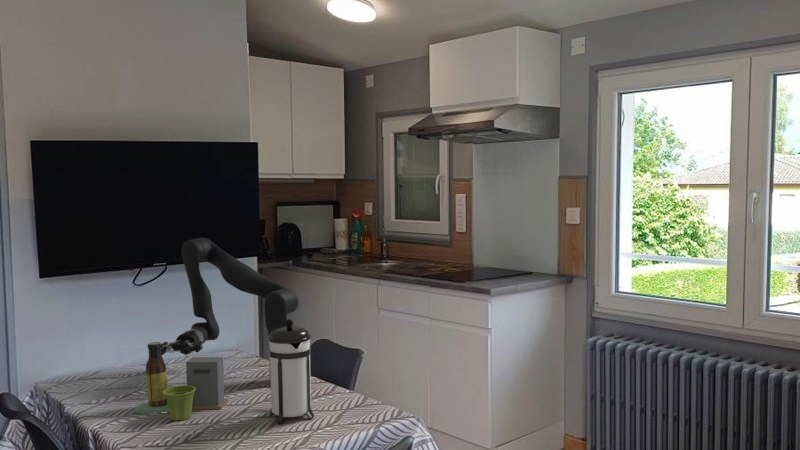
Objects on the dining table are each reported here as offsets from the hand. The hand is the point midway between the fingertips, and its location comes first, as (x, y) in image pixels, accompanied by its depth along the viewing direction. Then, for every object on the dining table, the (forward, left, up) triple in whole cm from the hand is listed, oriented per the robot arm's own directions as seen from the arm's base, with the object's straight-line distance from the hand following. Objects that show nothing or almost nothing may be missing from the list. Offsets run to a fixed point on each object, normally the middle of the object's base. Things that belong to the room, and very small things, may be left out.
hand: (172, 352), depth 227 cm
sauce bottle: (+1, +12, -14) cm, 18 cm away
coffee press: (-43, +19, -15) cm, 50 cm away
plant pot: (-10, +22, -15) cm, 28 cm away
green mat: (+1, +12, -15) cm, 19 cm away
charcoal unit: (-14, +10, -15) cm, 23 cm away
